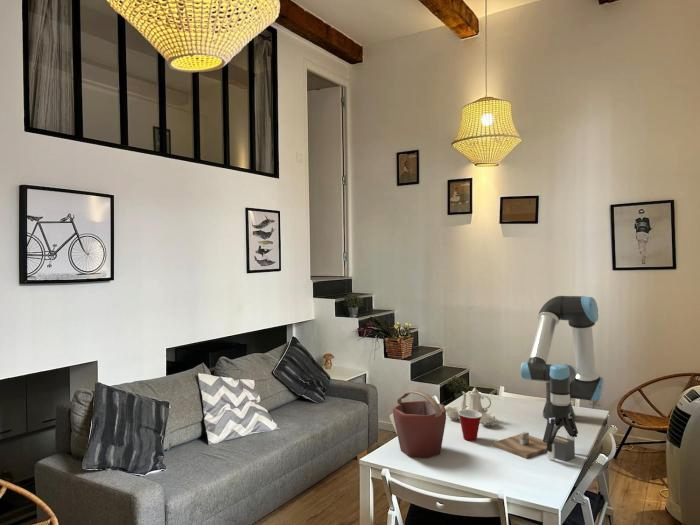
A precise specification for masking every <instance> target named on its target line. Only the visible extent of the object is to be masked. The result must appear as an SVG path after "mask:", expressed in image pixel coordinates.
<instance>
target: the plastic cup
mask: <svg viewBox="0 0 700 525" xmlns="http://www.w3.org/2000/svg"><path fill="white" fill-rule="evenodd" d="M458 414H459V422H460V427H461V432H462V436H463V437H462V438H463V439H464V440H465V441H468V442H472V441H476V440H477V439H478V433H479V429H480V419H481V417H482V414H481V413H480V412H477V411H474V410H460V411H458Z"/></svg>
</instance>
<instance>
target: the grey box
mask: <svg viewBox="0 0 700 525" xmlns="http://www.w3.org/2000/svg"><path fill="white" fill-rule="evenodd" d="M550 441H551V440H550ZM553 444H554V456H555V459H556V460H560V461H562V462H567V461H568V462H569V461H571V460H573V459H575V456H576V454H575V451H576V450H575V448H576V447H575V443H574V441H573V440H570V439H567V438H566V437H563V436H561V435H556V436H555V439H554V441H553Z"/></svg>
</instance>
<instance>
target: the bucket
mask: <svg viewBox="0 0 700 525" xmlns="http://www.w3.org/2000/svg"><path fill="white" fill-rule="evenodd" d="M410 394H416V395H418V396H421V397H423V398H424V399H425V400H413V401H402V400H403V399H405V398H406V397H408V396H409V395H410ZM396 402H397V405H396V406H394V407H393V408H392V416H393V420H394V421H393V422H394V426H395V431H396V435H397V438H398V439H397V440H398V444H399V448H400V452H402V453H403V454H404V455H405V456H407V457H408V458H415V459H426V460H427V459H430V458H433V457H437V456H440V455H441V451H442V446H443V445H442V444H443V441H444V440H443V439H444V434H445V427H446V423H447V422H446V420H447V412H446V410H445V409H446V407H445V405H444V404H442V403H439V402H437V401H436V400H435V398H433V397H432V396H431V395H430V394H428V393H426V392H424V391H419V390H408V391H405V392H404V393H403V394H401V395H400V396H399V397H398V398H397V400H396Z"/></svg>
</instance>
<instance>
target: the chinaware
mask: <svg viewBox="0 0 700 525" xmlns="http://www.w3.org/2000/svg"><path fill="white" fill-rule="evenodd" d="M461 393H462V394H463V395H462V400H461V403H460V407H458V406H457V407H456V406H455V407H450V406H448V407H446V408H445V410H446V416H447V417H448V418H449V419H450V421H453V422H455V421H458V418H459V419H460V417H459V414H458V411H460V410H474V411H477V412H480V413H481V414H482V417H481V419H480V422H479V424H481V425H482V426H483V427H484V428H489V427H492V426H493V425H495V426H496V425H497V424H498V423H499V421H498V419H497V418H495V417H496V416H495V415H494V414H493V413H492V412H491V413H487V412H488V411H489V410H488V409H489V408H490V407H491V405H492V400H491V398H490V396H489V397H488V396H487V395H482V392H480V391H479V390H478V389H477V388H476V387H474V388H473V389H472V390H471V391H469V392H468V396H469V403H468V406H467V393H466V392H465V391H463V390H462V391H461ZM485 398H486V399H488V401H489V405H488V406H487V407H483V405H482V401H481V400H484V399H485ZM494 420H496V423H493V421H494Z"/></svg>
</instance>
